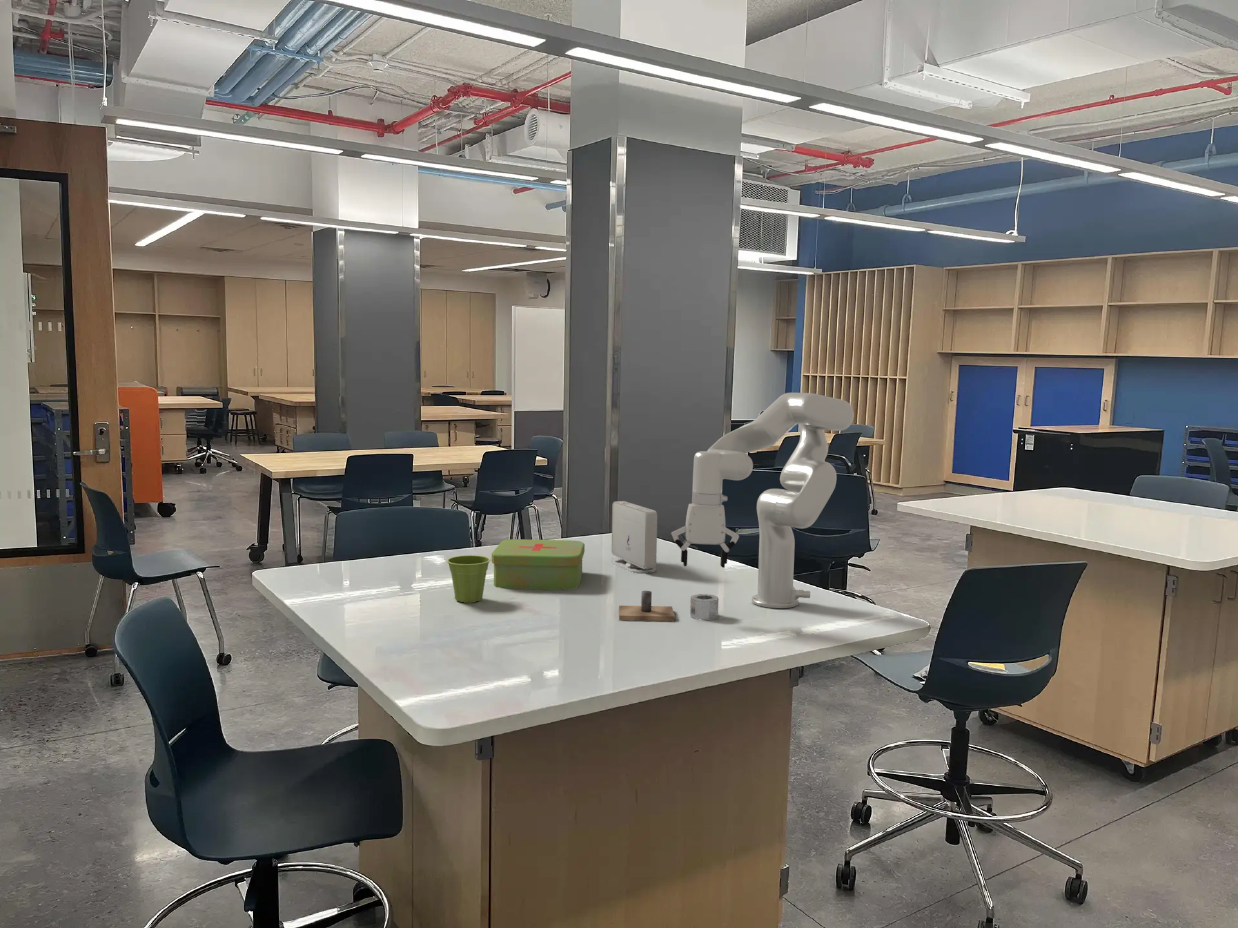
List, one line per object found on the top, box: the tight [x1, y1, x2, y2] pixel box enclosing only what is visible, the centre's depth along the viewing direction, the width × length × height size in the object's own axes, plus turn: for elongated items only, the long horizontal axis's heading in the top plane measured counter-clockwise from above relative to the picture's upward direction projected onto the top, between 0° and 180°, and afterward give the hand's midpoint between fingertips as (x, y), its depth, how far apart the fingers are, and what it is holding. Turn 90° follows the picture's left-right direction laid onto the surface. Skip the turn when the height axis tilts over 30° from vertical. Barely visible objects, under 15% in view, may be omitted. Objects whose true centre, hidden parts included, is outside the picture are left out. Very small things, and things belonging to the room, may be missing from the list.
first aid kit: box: [491, 538, 586, 590], centre depth 271 cm, size 26×26×10 cm
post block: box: [618, 590, 676, 622], centre depth 232 cm, size 14×10×6 cm
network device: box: [611, 500, 658, 574], centre depth 291 cm, size 26×9×20 cm, turn 25°
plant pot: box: [446, 554, 492, 604], centre depth 244 cm, size 12×12×11 cm
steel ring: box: [689, 593, 719, 621], centre depth 232 cm, size 7×7×5 cm
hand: (703, 565), depth 230 cm, fingers open, 9 cm apart
